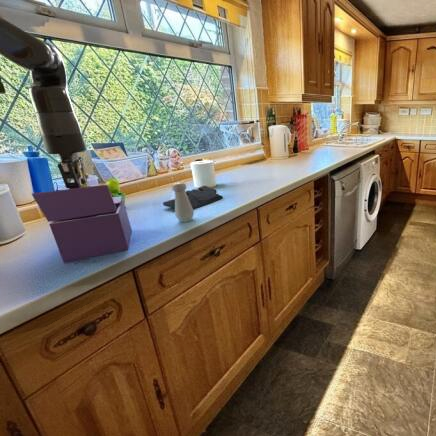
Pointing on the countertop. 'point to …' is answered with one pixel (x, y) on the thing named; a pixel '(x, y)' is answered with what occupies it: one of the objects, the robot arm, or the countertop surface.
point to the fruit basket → (115, 188)
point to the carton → (93, 234)
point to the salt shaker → (182, 203)
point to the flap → (75, 202)
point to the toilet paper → (203, 173)
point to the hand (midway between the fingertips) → (83, 199)
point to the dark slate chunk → (198, 197)
